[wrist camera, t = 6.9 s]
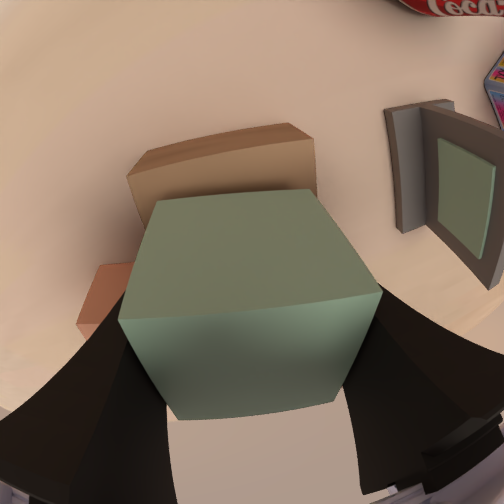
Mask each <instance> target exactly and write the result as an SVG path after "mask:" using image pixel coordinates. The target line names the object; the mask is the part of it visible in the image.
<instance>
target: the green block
mask: <svg viewBox="0 0 504 504" xmlns="http://www.w3.org/2000/svg"><path fill="white" fill-rule="evenodd" d="M382 293H383V291H382V289H381V288H380V286H379V285H378V283H377V282H376V280H375V278H374V277H373V275H372V274H371V272H370V271H369V269H368V268H367V267H366V265H365V264H364V262H363V261H362V259H361V258H360V256H359V255H358V253H357V252H356V251H355V249H354V248H353V246H352V245H351V243H350V242H349V241H348V239H347V238H346V236H345V235H344V234H343V232H342V231H341V230H340V228H339V227H338V225H337V224H336V223H335V221H334V220H333V219H332V217H331V216H330V215H329V213H328V212H327V211H326V209H325V208H324V207H323V206H322V204H321V203H320V202H319V200H318V199H317V198H316V197H315V195H314V194H313V193H312V191H311V190H310V189H296V190H276V191H259V192H244V193H231V194H219V195H208V196H197V197H188V198H178V199H169V200H161V201H157V202H156V205H155V207H154V210H153V213H152V215H151V218H150V220H149V223H148V226H147V228H146V231H145V234H144V237H143V239H142V242H141V245H140V248H139V251H138V254H137V257H136V260H135V263H134V266H133V269H132V272H131V275H130V278H129V282H128V285H127V288H126V292H125V295H124V298H123V302H122V305H121V309H120V313H119V316H118V321H119V323H120V325H121V327H122V329H123V331H124V333H125V335H126V337H127V339H128V340H129V342H130V344H131V346H132V348H133V350H134V351H135V353H136V355H137V357H138V358H139V360H140V362H141V364H142V365H143V367H144V369H145V370H146V372H147V374H148V375H149V377H150V379H151V380H152V382H153V383H154V385H155V386H156V388H157V390H158V391H159V393H160V394H161V396H162V397H163V399H164V400H165V402H166V403H167V405H168V406H169V408H170V409H171V411H172V412H173V413H174V415H175V416H176V418H177V419H178V420H206V419H223V418H235V417H245V416H253V415H262V414H269V413H276V412H283V411H288V410H294V409H300V408H305V407H309V406H314V405H320V404H324V403H328V402H332V401H334V399H335V397H336V396H337V394H338V392H339V390H340V388H341V386H342V384H343V382H344V380H345V378H346V376H347V374H348V372H349V370H350V368H351V366H352V364H353V362H354V360H355V358H356V356H357V353H358V351H359V349H360V347H361V345H362V342H363V340H364V338H365V336H366V333H367V331H368V328H369V326H370V324H371V321H372V319H373V316H374V314H375V311H376V309H377V306H378V304H379V301H380V298H381V296H382Z"/></svg>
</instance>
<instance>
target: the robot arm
mask: <svg viewBox="0 0 504 504" xmlns="http://www.w3.org/2000/svg"><path fill="white" fill-rule="evenodd" d="M378 285H379V286H380V288H381V289H382V291H383V293H382V296H381V298H380V301H379V304H378V306H377V309H376V311H375V314H374V316H373V319H372V321H371V324H370V326H369V328H368V331H367V333H366V336H365V338H364V340H363V342H362V345H361V347H360V349H359V351H358V353H357V356H356V358H355V360H354V362H353V364H352V366H351V368H350V370H349V372H348V374H347V376H346V378H345V380H344V382H343V384H342V385H343V389H344V393H345V397H346V401H347V405H348V409H349V413H350V418H351V422H352V427H353V433H354V438H355V444H356V451H357V458H358V466H359V476H360V487H361V491H362V494H363V495H366V494H370V493H373V492H377V491H380V490H383V489H387V490H388V492H389V494H390V496H388V497H385V498H383V499H380V500H378V501H375V502H373V503H370V504H504V423H503V424H502V425H501V426H499V424H500V423H501V422H502V421H503V418H502V416H501V414H500V413H501V412H502V411H503V410H504V355H503V354H500V353H497V352H494V351H492V350H489V349H487V348H484V347H482V346H480V345H477V344H475V343H473V342H471V341H469V340H466V339H464V338H462V337H460V336H458V335H457V334H455V333H453V332H451V331H449V330H447V329H445V328H443V327H442V326H440V325H438V324H436V323H435V322H433V321H432V320H430V319H428V318H427V317H425V316H424V315H422V314H420V313H419V312H417V311H416V310H414V309H413V308H411V307H410V306H408V305H407V304H405V303H404V302H403V301H401V300H400V299H399V298H397V297H396V296H394V295H393V294H392V293H390V292H389V291H388V290H386V289H385V288H384V287H382V286H381V285H380V284H379V283H378ZM125 292H126V290H125V291H124V293H123V294H122V296H121V297H120V298H119V300H118V301H117V302H116V304H115V305H114V306H113V308H112V309H111V311H110V312H109V313H108V315H107V316H106V317H105V318H104V320H103V321H102V322H101V324H100V325H99V326H98V327H97V329H96V330H95V331H94V332H93V334H92V335H91V336H90V338H89V339H88V340H87V341H86V342H85V343H84V345H83V346H82V347H81V348H80V349H79V350H78V351H77V353H76V354H75V355H74V356H73V357H72V358H71V359H70V360H69V361H68V362H67V363H66V365H65V366H64V367H63V368H62V369H60V370H59V371H58V372H57V373H56V374H55V375H54V376H53V377H52V378H51V379H50V380H49V381H48V382H47V383H46V384H45V385H44V386H43V387H42V388H41V389H40V390H39V391H38V392H36V393H35V394H34V395H33V396H32V397H31V398H30V399H28V400H27V401H26V402H25V403H24V404H22V405H21V406H20V407H19V408H17V409H16V410H15V411H13V412H12V413H11V414H9V415H8V416H6V417H5V418H4V419H2V420H1V421H0V504H178V503H177V499H176V494H175V489H174V483H173V477H172V470H171V463H170V454H169V446H168V445H169V444H168V431H167V403H166V402H165V400H164V399H163V397H162V396H161V394H160V393H159V391H158V390H157V388H156V386H155V385H154V383H153V382H152V380H151V379H150V377H149V375H148V374H147V372H146V370H145V369H144V367H143V365H142V364H141V362H140V360H139V358H138V357H137V355H136V353H135V351H134V350H133V348H132V346H131V344H130V342H129V340H128V339H127V337H126V335H125V333H124V331H123V329H122V327H121V325H120V323H119V321H118V316H119V313H120V309H121V305H122V302H123V298H124V295H125Z"/></svg>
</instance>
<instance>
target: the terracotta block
mask: <svg viewBox="0 0 504 504" xmlns="http://www.w3.org/2000/svg"><path fill="white" fill-rule="evenodd" d="M134 263H135V262H130V263H119V264H108V265H100V267H99V269H98V271H97V273H96V275H95V278H94V280H93V282H92V285H91V287H90V289H89V292H88V294H87V297H86V299H85V302H84V304H83V307H82V309H81V312H80V315H79V317H78V320H77V323H76V325H77V326H78V328H79V330H80V331H81V333H82V334H83V336H84V337H85V339H86V340H88V339H89V338H90V336H91V335H92V334H93V332H94V331H95V330H96V329H97V327H98V326H99V325H100V324H101V322H102V321H103V320H104V318H105V317H106V316H107V315H108V313H109V312H110V311H111V309H112V308H113V306H114V305H115V304H116V302H117V301H118V300H119V298H120V297H121V296H122V294H123V293H124V291H125V290H126V288H127V285H128V282H129V278H130V275H131V272H132V269H133V266H134Z"/></svg>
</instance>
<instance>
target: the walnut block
mask: <svg viewBox="0 0 504 504" xmlns="http://www.w3.org/2000/svg"><path fill="white" fill-rule="evenodd" d="M126 177H127V180H128V183H129V186H130V189H131V192H132V195H133V198H134V201H135V204H136V206H137V209H138V212H139V215H140V217H141V220H142V223H143V225H144V228H145V231H146V228H147V226H148V223H149V220H150V218H151V215H152V213H153V210H154V207H155V205H156V202H157V201H161V200H169V199H178V198H188V197H197V196H208V195H219V194H231V193H244V192H259V191H276V190H296V189H310V190H311V191H312V193H313V194H314V195H315V197H316V198H317V184H316V165H315V150H314V139H313V138H312V137H310V136H309V135H307V134H306V133H304V132H303V131H301V130H299V129H298V128H296V127H295V126H293V125H291V124H290V123H282V124H274V125H267V126H260V127H254V128H247V129H242V130H236V131H230V132H225V133H220V134H215V135H210V136H205V137H201V138H196V139H192V140H187V141H183V142H179V143H175V144H171V145H167V146H164V147H160V148H156V149H153V150H149V151H147V152H146V153H145V154H144V155H143V157H142V158H141V159H140V160H139V161H138V163H137V164H136V165H135V166H134V167H133V169H132V170H131V171H130V172H129V174H128V175H127V176H126Z"/></svg>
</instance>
